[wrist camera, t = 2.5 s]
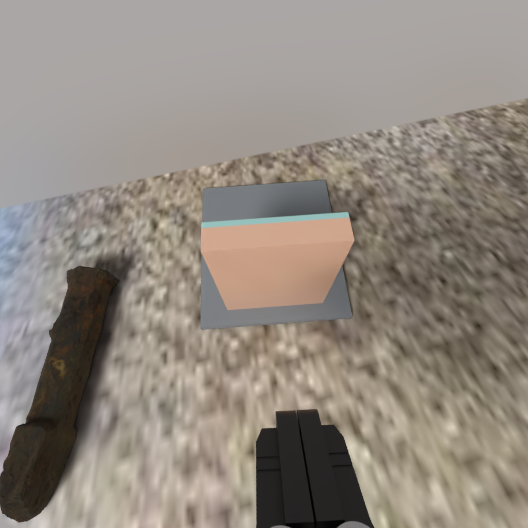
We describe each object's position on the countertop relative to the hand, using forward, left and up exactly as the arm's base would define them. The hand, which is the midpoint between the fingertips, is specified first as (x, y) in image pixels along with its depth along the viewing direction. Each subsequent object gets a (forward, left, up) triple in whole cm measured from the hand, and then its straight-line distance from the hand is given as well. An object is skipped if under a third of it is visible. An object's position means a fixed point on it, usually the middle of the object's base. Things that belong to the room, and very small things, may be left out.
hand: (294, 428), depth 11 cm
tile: (0, -10, -15) cm, 18 cm away
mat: (0, -16, -16) cm, 22 cm away
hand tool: (+17, -4, -16) cm, 24 cm away
